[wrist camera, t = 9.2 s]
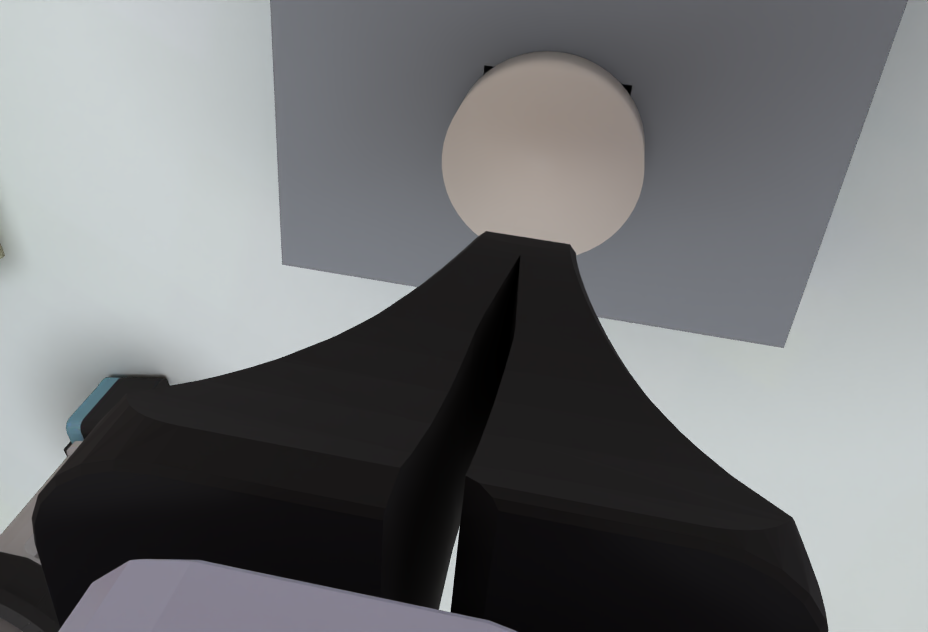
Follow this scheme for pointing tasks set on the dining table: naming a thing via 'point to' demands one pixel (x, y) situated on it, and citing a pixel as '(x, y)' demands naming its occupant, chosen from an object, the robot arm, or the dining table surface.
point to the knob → (546, 151)
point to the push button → (14, 552)
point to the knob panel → (664, 124)
